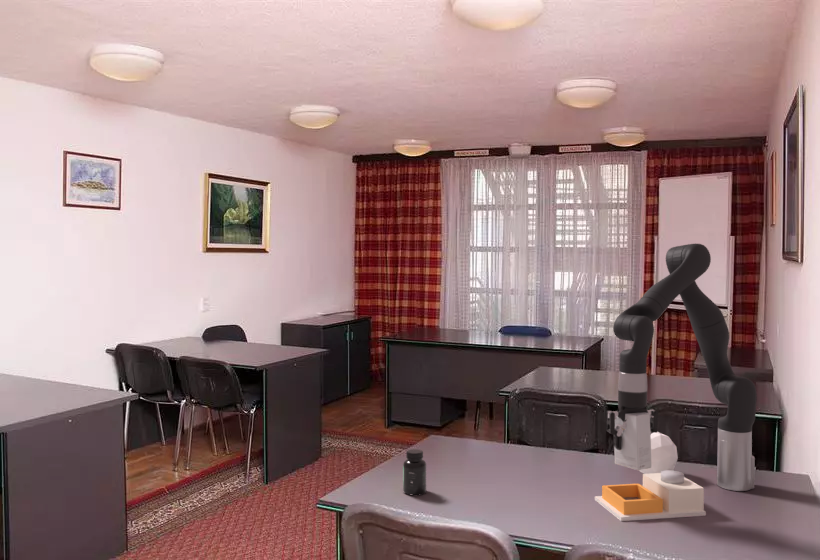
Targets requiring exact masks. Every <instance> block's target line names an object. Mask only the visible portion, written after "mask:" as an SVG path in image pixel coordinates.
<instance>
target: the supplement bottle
mask: <svg viewBox="0 0 820 560" xmlns="http://www.w3.org/2000/svg"><path fill="white" fill-rule="evenodd" d="M405 452H406V455H405V456H406V457H405V458H406V459H405V460H404V461H403V463H402V491H404V492H405V493H407V494H413V495H417V496H420V495H419V494H422V495H424V494H425V493H427V462H426V461H425V460H424V450H421V449H417V448H413V449H408V450H406V451H405ZM404 492H403V493H404ZM405 493H404V494H405ZM407 494H406V495H407Z"/></svg>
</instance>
